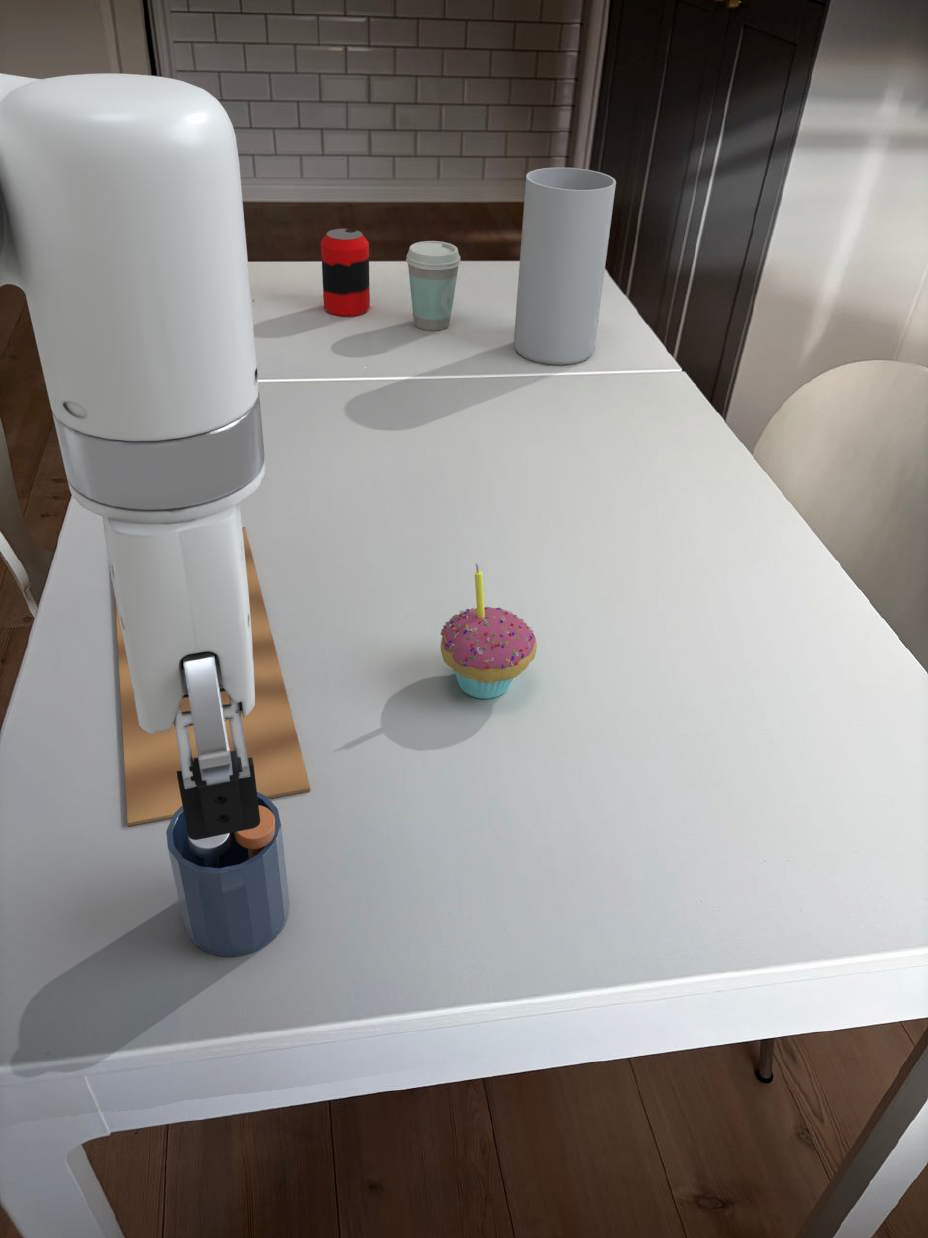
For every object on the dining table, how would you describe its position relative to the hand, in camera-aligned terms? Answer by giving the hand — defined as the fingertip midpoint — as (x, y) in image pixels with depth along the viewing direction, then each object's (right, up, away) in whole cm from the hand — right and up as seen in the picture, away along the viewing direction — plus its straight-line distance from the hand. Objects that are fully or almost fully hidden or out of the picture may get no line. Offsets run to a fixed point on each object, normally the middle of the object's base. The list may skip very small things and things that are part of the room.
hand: (212, 755), depth 49 cm
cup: (-4, -14, +21) cm, 26 cm away
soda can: (-7, +58, +115) cm, 129 cm away
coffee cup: (+7, +54, +111) cm, 124 cm away
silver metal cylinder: (-5, -14, +20) cm, 25 cm away
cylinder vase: (+26, +48, +105) cm, 118 cm away
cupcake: (+14, +1, +42) cm, 44 cm away
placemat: (-13, +4, +44) cm, 46 cm away
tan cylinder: (-2, -13, +21) cm, 25 cm away
